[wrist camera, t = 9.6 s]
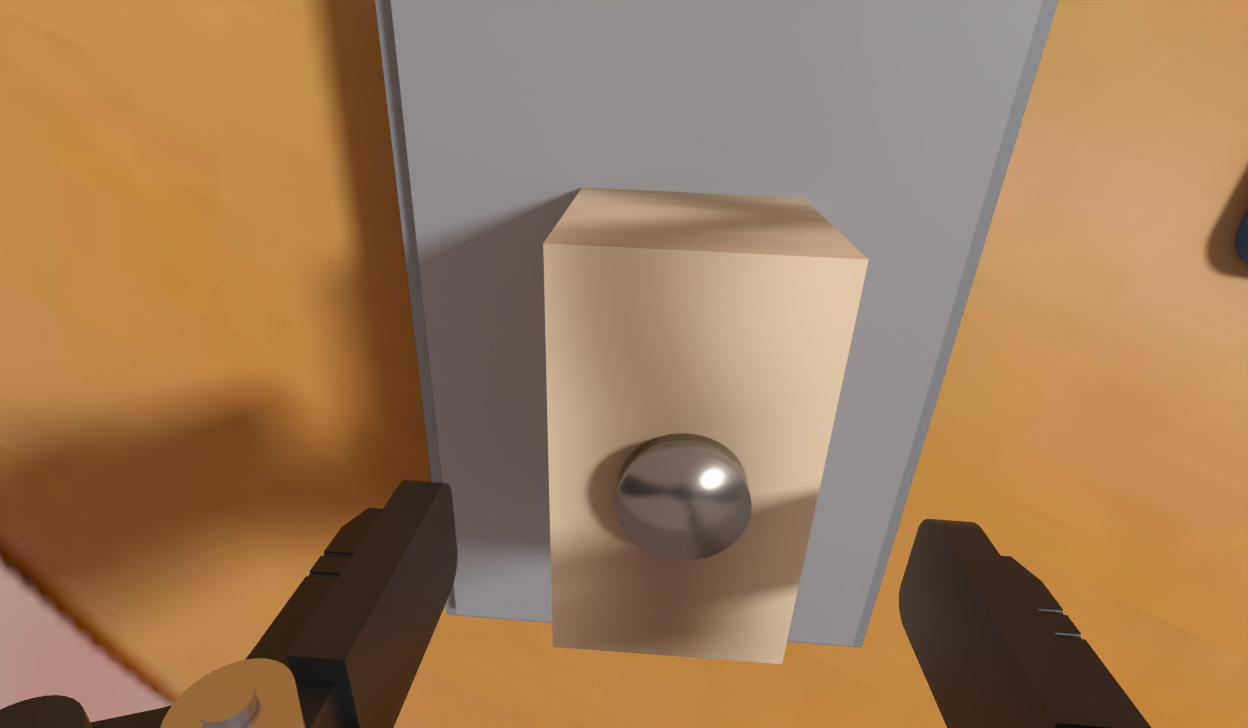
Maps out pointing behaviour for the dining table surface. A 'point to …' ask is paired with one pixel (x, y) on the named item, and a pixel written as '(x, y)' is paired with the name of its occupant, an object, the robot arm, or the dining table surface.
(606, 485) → the block
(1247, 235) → the smartphone
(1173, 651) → the dining table surface
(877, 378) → the grey stepped lid
